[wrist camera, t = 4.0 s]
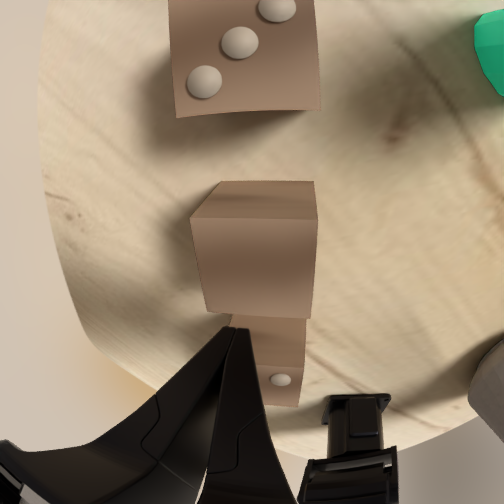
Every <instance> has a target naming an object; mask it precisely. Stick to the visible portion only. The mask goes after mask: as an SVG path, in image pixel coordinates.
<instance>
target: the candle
mask: <svg viewBox="0 0 504 504" xmlns="http://www.w3.org/2000/svg"><path fill="white" fill-rule="evenodd" d="M474 48H475V51H476V53H477V56H478V59H479V61H480V64H481V67H482V70H483V73H484V74H485V76H486V77H487V78H488V80H489V81H490V83H491V84H492V85H493V87H494V88H495V90H496V91H497V93H498V94H500V95H501V96H503V97H504V9H501V10H497V11H493V12H489V13H486V14H483V15H482V16H481V18H480V19H479V20H478V22H477V23H476V24H475V26H474Z"/></svg>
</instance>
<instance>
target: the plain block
mask: <svg viewBox="0 0 504 504" xmlns="http://www.w3.org/2000/svg"><path fill="white" fill-rule="evenodd" d="M190 224H191V230H192V236H193V242H194V248H195V253H196V258H197V264H198V269H199V274H200V279H201V284H202V289H203V294H204V299H205V304H206V309H207V312H216V313H227V314H239V315H252V316H267V317H284V318H305V319H310V317H311V307H312V297H313V286H314V274H315V261H316V247H317V230H318V215H317V206H316V197H315V189H314V181H221V182H220V183H219V184H218V185H217V187H216V188H215V189H214V190H213V191H212V192H211V193H210V195H209V196H208V197H207V198H206V199H205V200H204V202H203V203H202V204H201V205H200V206H199V207H198V209H197V210H196V211H195V212H194V213H193V214H192V216H191V217H190Z"/></svg>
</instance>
